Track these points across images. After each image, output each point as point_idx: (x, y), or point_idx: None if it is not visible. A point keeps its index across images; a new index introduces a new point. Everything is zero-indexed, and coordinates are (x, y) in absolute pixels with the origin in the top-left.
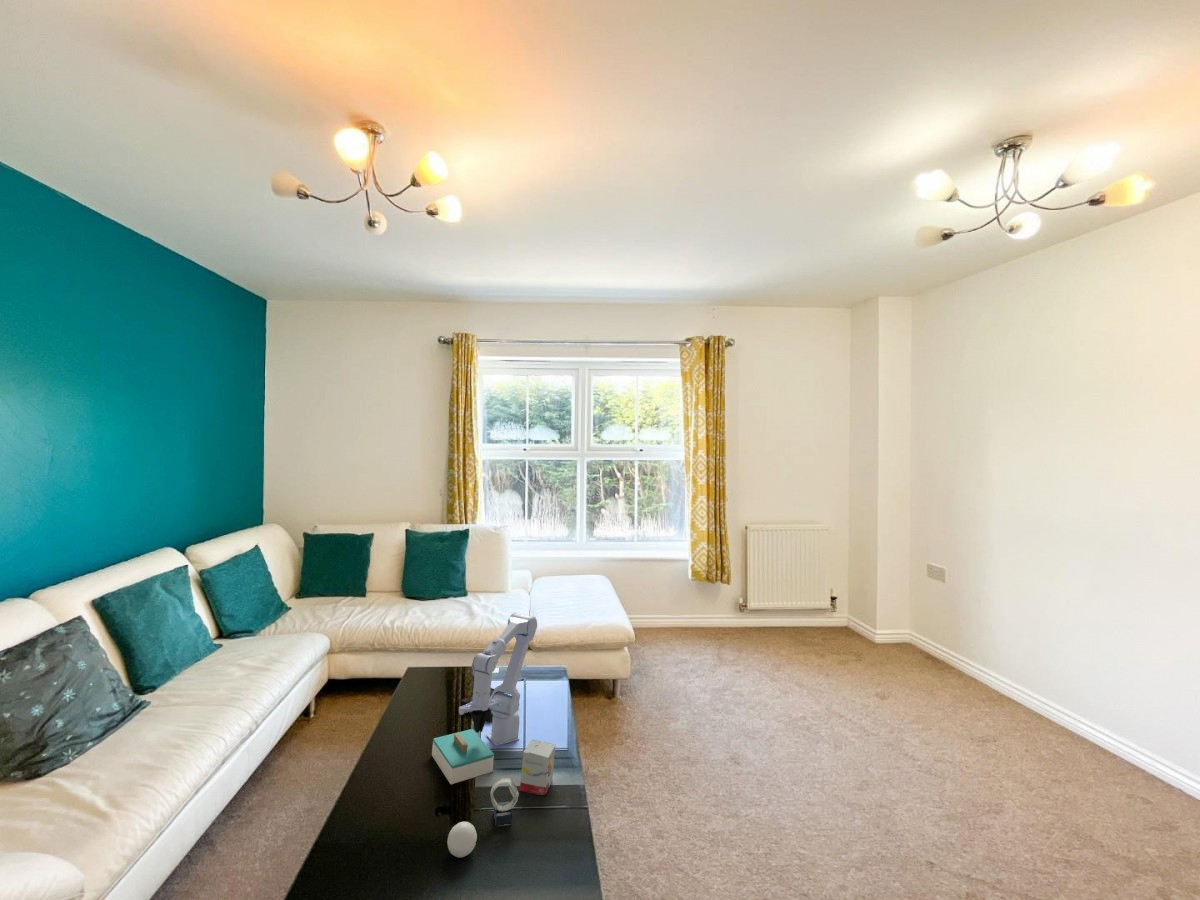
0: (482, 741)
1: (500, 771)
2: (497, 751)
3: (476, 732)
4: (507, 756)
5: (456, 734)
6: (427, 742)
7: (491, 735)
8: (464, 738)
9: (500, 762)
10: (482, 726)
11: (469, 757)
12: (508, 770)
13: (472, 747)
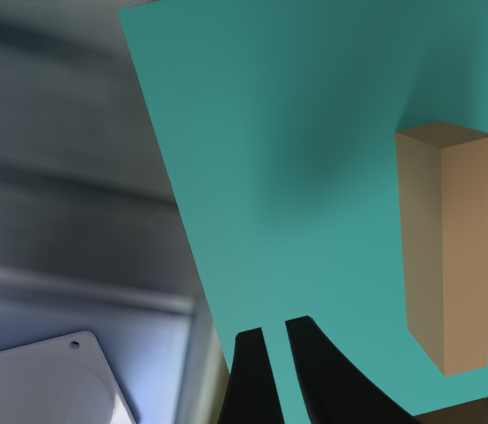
0: (209, 282)
1: (78, 11)
2: (82, 273)
3: (313, 323)
4: (9, 202)
5: (472, 358)
6: (453, 410)
7: (108, 416)
8: (350, 348)
9: (70, 138)
10: (254, 378)
11: (400, 25)
12: (6, 5)
13: (322, 204)
